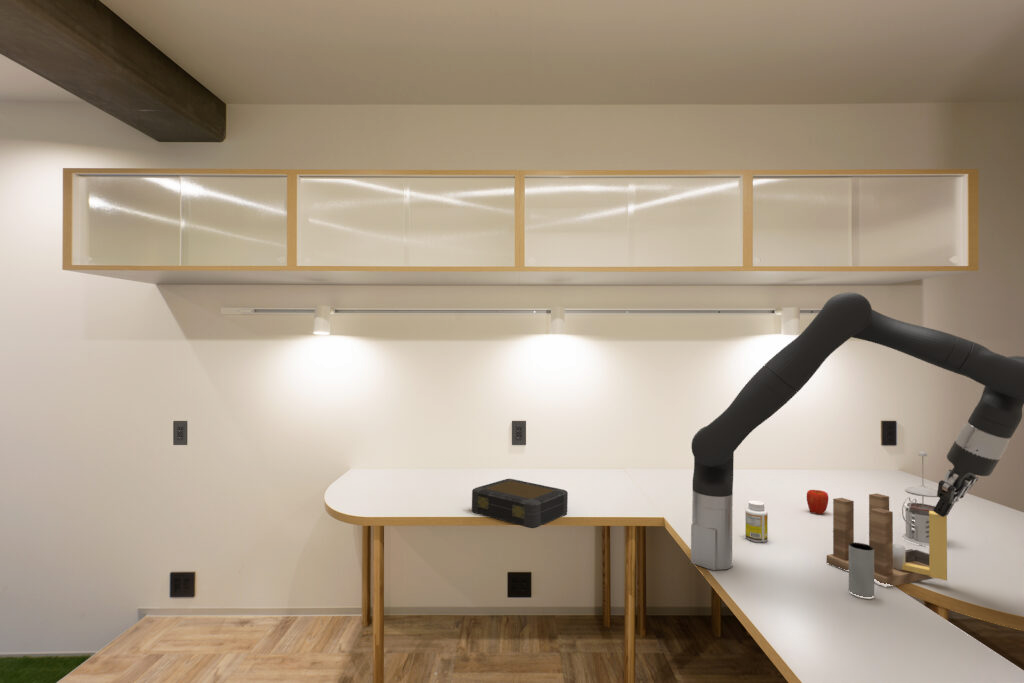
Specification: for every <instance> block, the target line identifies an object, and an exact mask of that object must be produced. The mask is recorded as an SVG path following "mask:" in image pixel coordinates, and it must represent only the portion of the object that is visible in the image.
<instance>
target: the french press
mask: <svg viewBox="0 0 1024 683" xmlns="http://www.w3.org/2000/svg"><path fill="white" fill-rule="evenodd" d="M918 456H920V457H921V458H922V462H921V465H922V466H921V467H922V468H921V473H922V474H921V476H922V478H921V479H922V480H921V481H922V485H913V486H909V487H907V488H905V489H904V491H905V492H906V493H907V494H910V495H913V496H917V497H918V496H919V497H922V503H921V502H920V503H919V502H917V499H916V498H913V499H912V500H911V497H910V496H908V497H906V498H905V499H904V501H903V503H902V507H901V515H902V519H903V520H904V522H905V534H903V535H902V536H903V538H904V539H905V540H908V541H910V542H913V543H916V544H919V545H924V546H929V511H934V508H935V506H936V505H931V504H926V503H924V497H927V498H938V497H937V492H938V490H936V489H935V488H932V487H928V486H925V485H924V457H928V454H927V452H926V451H919V452H918ZM907 500H909V502H907V503H906V501H907ZM904 504H907V506H908V507H909V508H906V512H905V515H904V508H905V507H904ZM912 514H913V515H914V517H913V516H912ZM912 519H914V520H915V522H914V521H912ZM919 545H918V546H919ZM924 546H923V547H924Z"/></svg>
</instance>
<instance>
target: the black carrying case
mask: <svg viewBox="0 0 1024 683" xmlns="http://www.w3.org/2000/svg"><path fill="white" fill-rule="evenodd" d="M568 496H569V494H568V491H567V490H565V489H562V488H557V487H553V486H549V485H548V486H547V485H543V484H538V483H533V482H529V481H523V480H519V479H514V478H505V479H501V480H498V481H495V482H491V483H487V484H484V485H481V486H477V487H475V488H473V489H472V490H471V512H472V513H474V514H477V515H481V516H485V517H488V518H492V519H496V520H499V521H502V522H506V523H508V524H509V523H510V524H513V525H518V526H521V527H524V528H525V527H526V528H528V529H529V528H530V529H537V528H538V527H541V526H543V525H546V524H549V523H550V522H552V521H554V520H557V519H559V518H561V517H564V516H566V515H567V514H568Z"/></svg>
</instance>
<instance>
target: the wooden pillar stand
mask: <svg viewBox="0 0 1024 683" xmlns="http://www.w3.org/2000/svg"><path fill="white" fill-rule="evenodd" d="M832 500H833V502H832V503H833V506H832V508H833V510H832V511H833V512H832V513H833V514H832V516H833V517H832V518H833V522H832V523H833V524H832V526H833V528H832V529H833V530H832V532H833V533H832V539H833V540H832V541H833V545H832V546H833V547H832V553H831V554H826V564H827V563H829V564H831V565H830V566H832V565H834V566H836V567H835V568H837V567H840V568H842V569H845V570H849V543H853V542H855V540H854V539H855V534H854V532H855V530H854V529H855V528H854V527H855V524H854V522H855V521H854V518H855V517H854V516H855V514H854V513H855V512H854V511H855V510H854V505H855V503H854V500H852V499H847V498H844V497H838V498H837V497H836V498H833V499H832ZM893 514H894V513H893V511H891V510H890V496H889V495H885V494H881V493H870V494H868V535H869V536H868V545H870V546H872V547H873V548H874V579H876V580H877V581H879V582H880V583H884V584H886V583H887V584H890V585H893V586H892V587H894V586H899V585H904V584H908V583H913V582H918V581H922V580H927V579H930V578H931V579H932V577H930V576H929V575H924V574H920V573H915V572H910V571H906V570H898V569H895V568H893V543H894V540H893V538H894V530H893V529H894V526H893V525H894V522H893V519H894V517H893V516H894V515H893ZM905 562H906V563H911V564H915V565H920V566H925V567H929V552H925V551H921V550H919V549H912V548H911V549H905ZM829 564H828V565H829ZM834 566H833V567H834Z"/></svg>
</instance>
